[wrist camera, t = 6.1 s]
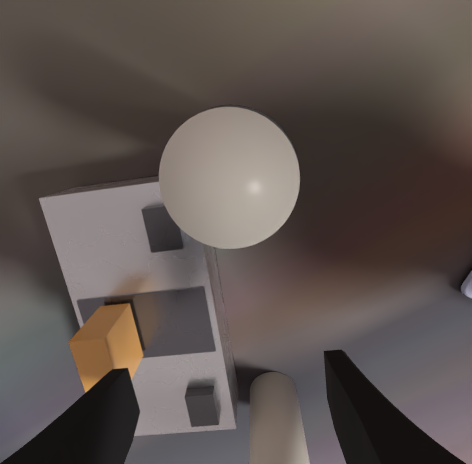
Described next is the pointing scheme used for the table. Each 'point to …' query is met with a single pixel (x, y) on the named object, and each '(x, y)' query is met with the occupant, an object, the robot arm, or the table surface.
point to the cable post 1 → (229, 177)
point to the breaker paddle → (106, 344)
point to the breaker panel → (151, 299)
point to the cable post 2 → (276, 422)
